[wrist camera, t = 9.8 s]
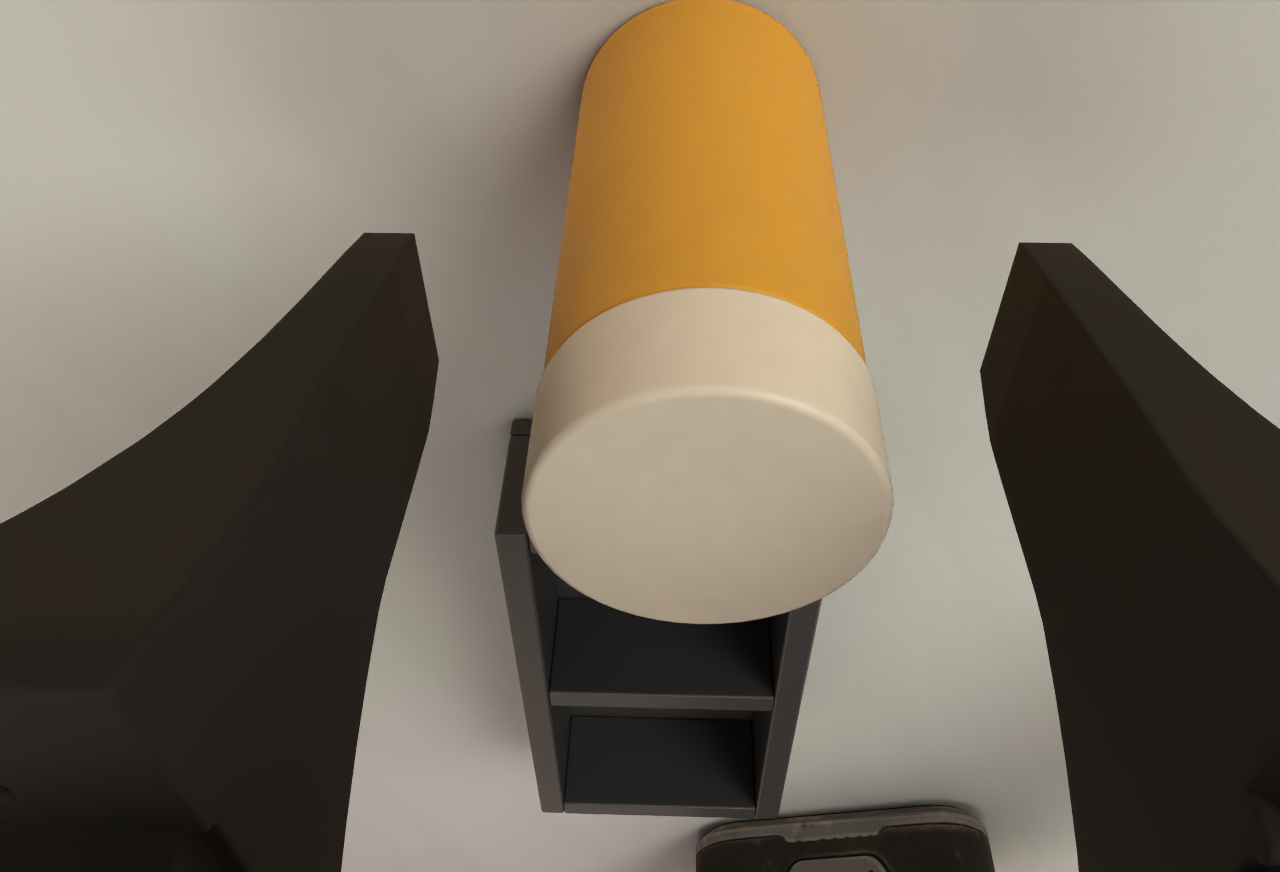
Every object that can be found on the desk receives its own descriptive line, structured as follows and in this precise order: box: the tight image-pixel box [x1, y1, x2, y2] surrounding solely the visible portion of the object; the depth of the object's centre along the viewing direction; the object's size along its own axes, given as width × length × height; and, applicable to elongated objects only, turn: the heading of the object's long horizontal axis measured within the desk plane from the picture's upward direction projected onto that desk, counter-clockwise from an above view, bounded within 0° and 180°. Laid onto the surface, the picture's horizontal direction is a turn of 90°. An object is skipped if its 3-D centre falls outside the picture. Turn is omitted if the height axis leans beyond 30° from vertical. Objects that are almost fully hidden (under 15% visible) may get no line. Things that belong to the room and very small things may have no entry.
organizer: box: [495, 420, 822, 819], centre depth 24 cm, size 6×12×3 cm, turn 0°
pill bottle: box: [521, 0, 893, 624], centre depth 13 cm, size 4×4×8 cm
